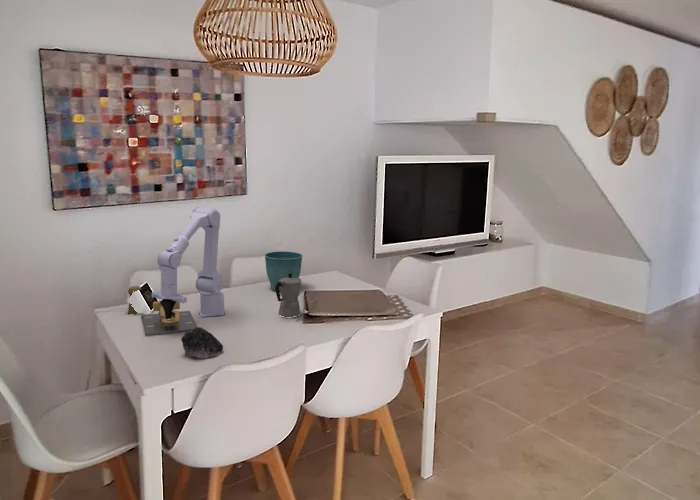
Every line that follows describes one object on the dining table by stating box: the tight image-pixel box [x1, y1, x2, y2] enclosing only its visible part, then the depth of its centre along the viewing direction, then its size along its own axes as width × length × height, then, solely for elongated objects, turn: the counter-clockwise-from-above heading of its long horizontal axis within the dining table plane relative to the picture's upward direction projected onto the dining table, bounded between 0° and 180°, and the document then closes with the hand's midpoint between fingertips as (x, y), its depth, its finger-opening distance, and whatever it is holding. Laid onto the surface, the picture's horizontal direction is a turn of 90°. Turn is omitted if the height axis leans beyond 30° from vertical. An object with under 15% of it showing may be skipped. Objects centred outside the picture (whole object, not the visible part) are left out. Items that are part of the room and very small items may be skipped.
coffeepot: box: [274, 273, 302, 317], centre depth 235 cm, size 15×9×18 cm, turn 145°
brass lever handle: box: [160, 307, 180, 325], centre depth 217 cm, size 6×10×5 cm, turn 50°
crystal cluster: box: [180, 326, 224, 360], centre depth 195 cm, size 13×14×10 cm
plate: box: [140, 310, 199, 337], centre depth 222 cm, size 19×22×2 cm
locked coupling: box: [152, 300, 181, 315], centre depth 227 cm, size 6×10×5 cm, turn 114°
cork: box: [127, 285, 142, 315], centre depth 232 cm, size 6×6×11 cm
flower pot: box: [264, 250, 303, 292], centre depth 274 cm, size 18×18×17 cm
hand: (168, 318), depth 214 cm, fingers closed, pressing on brass lever handle
